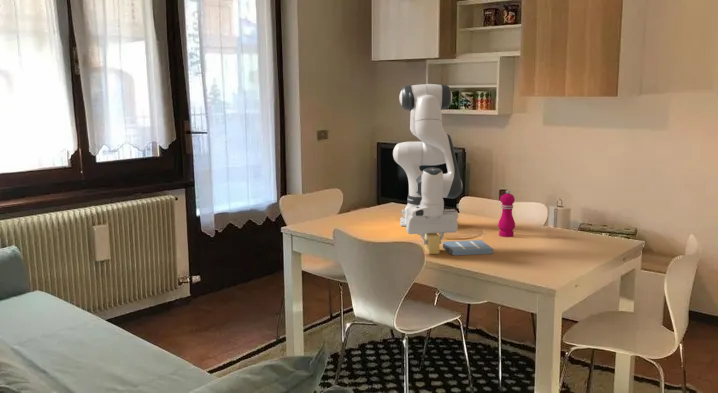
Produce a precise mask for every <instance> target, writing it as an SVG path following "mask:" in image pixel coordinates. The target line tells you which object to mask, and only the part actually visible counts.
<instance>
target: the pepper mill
mask: <svg viewBox="0 0 718 393" xmlns="http://www.w3.org/2000/svg"><path fill="white" fill-rule="evenodd" d="M515 199H516V198H515V196H514V194H512V193H511V190H509V189H506V190H505V193H504V194H502V195H501V196H500V199H499V200H500V203H501V207H500V208H501V209H502V212H501V215H500V218H499V220H498V224H497V227H498V228H499V232H498V236H500V237H503V238H511V237H512V238H513V237H514V235H515V233H514V232H515V231H514V230H515V228H516V223H515V218H514V216H513V209H514V205H513V204H514V203H515Z"/></svg>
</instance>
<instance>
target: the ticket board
mask: <svg viewBox="0 0 718 393" xmlns="http://www.w3.org/2000/svg"><path fill="white" fill-rule="evenodd" d="M442 243H443V244H442V249H444V250H445V251H446V253H448V255H452V256H453V255H454V256H470V255H471V256H472V255H493V253H494V248H493V247H491V246H490V245H489V244H487V242H485V241H483V240H482V239H479V240H478V239H476V240H475V239H473V240H456V241H455V240H454V241H443V242H442Z"/></svg>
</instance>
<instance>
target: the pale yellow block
mask: <svg viewBox="0 0 718 393" xmlns="http://www.w3.org/2000/svg"><path fill="white" fill-rule="evenodd" d="M424 238H425V239H427V240H428V242H427V243H428V244H427V245H424V247H423V248H424V250H425V251H426V252H427V254H428V255H437V254H438V255H439V254H440V246H441V244H440V235H439V233H430V234H425V236H424Z"/></svg>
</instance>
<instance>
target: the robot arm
mask: <svg viewBox="0 0 718 393" xmlns="http://www.w3.org/2000/svg"><path fill="white" fill-rule="evenodd" d="M452 100H453V93H452V90H451V87H450V86H449V85H447V84H444V83H443V84H442V83H440V84H436V83H435V84H434V83H425V84H414V85H411V84H408V85H404V86H403V87H402V88H401V90H400V92H399V104H400V105H401V108H402V109H403V110H406V111H409V112H410V115H409V117H410V118H409V120H410V121H409V124H410V125H409V131H410V132H411V134H412V135H413V136H415V137H416V138H417V139H418V140H420V141H404V142H398V143H397V144H396V145H395V146H394V148H393V150H392V157H393V160H394V162H395V163H396V164H398V165H399V166H400V167H401V168H402V170H403V171H404V172H405V174H406V177H407V181H408V194H407V201H406V202H407V204H406V206H405V208H404V209H401V215H402V216H401V217H400V218H399V221H400V222H399V223H400V226H401V227H406V229H405V230H406V232H407V233H408V235H419V236H420V238H421V239H422V245H424V246H425V245H427V244H428V243H427V242H428V240H427V239H425V234H430V233H437V234H438V235H439V236H440V245H441V244H442V240H443V237H444V236H445V233H446V234H447V233H450V234H451V233H457V231H458V230H459V229H458V228H459V226H458V218H459V212H458V211H457V209H455V208H450V209H449V208H444V207H445V201H444V198H445V199H453V200H454V199H456V198H457V197H458V196H460V194H462V193H463V181H462V178H461V175H460V171H459V166H458V162H457V157H456V152H455V148H454V144H453V141H452V137H451V136H450V134H448V133H447V132H446V131H445V128H444V126H443V116H442V110H445V109H448V108H450V106H451V103H452ZM444 164H445V165H446V169H447V172H446V173H443V170H442V169H441V168H438V167H433V166H440V165H444ZM421 166H432V167H425V168H424V169H423V170H421V169H420V167H421Z"/></svg>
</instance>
